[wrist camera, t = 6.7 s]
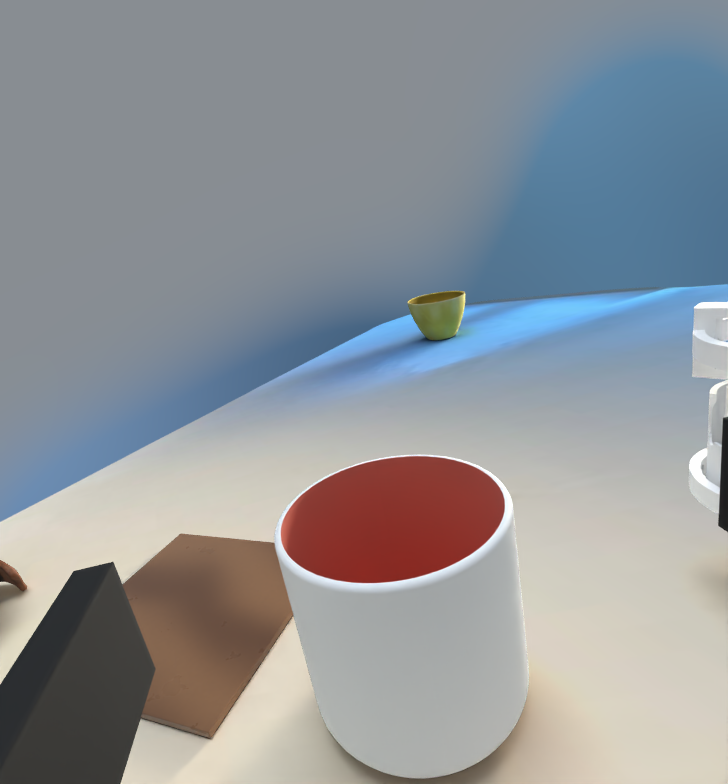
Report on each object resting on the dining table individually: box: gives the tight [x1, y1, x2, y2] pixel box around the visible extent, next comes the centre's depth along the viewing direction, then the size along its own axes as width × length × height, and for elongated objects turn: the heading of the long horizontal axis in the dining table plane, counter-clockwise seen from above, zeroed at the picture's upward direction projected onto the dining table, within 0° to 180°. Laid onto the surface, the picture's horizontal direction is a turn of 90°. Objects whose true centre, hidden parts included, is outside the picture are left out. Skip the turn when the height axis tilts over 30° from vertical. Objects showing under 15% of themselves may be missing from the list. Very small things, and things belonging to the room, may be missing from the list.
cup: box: [274, 455, 529, 778], centre depth 23 cm, size 10×10×10 cm
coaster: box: [123, 534, 293, 738], centre depth 33 cm, size 14×14×1 cm
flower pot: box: [408, 291, 465, 340], centre depth 90 cm, size 10×10×7 cm
